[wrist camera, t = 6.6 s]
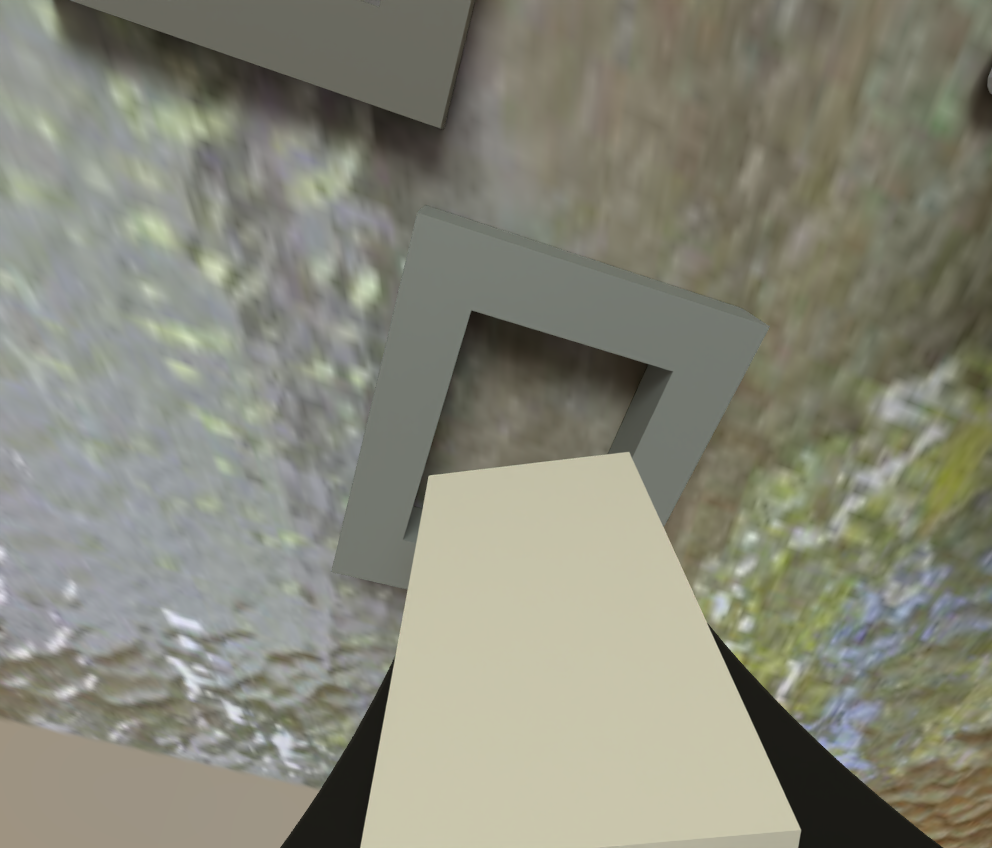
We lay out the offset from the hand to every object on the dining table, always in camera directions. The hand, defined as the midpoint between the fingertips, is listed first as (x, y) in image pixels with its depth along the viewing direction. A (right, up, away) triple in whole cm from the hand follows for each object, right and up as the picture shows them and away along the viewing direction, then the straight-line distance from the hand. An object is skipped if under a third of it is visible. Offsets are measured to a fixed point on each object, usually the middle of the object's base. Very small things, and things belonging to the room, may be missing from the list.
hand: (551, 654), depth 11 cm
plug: (0, +1, +2) cm, 2 cm away
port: (0, +4, +9) cm, 10 cm away
